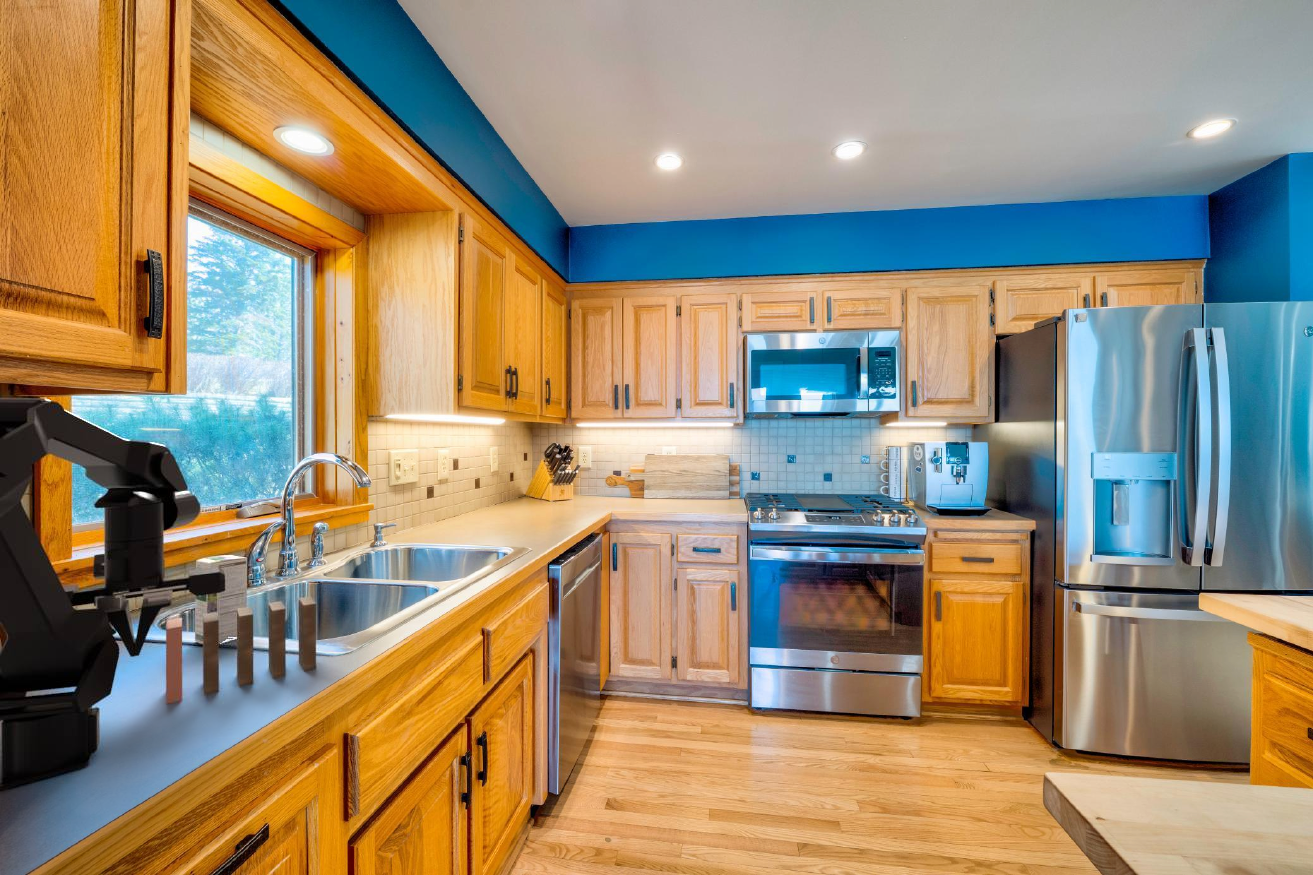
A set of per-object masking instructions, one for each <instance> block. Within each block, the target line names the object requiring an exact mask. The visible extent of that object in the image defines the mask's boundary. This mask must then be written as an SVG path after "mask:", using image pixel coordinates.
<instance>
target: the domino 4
mask: <svg viewBox="0 0 1313 875" xmlns="http://www.w3.org/2000/svg"><path fill="white" fill-rule="evenodd" d="M286 621H287V620H286V607H285V605H284V604H283V602H282V601H281V600H279V601H275V602H274V601H273V602H269V603H268V671H269V672H270V675H271V678H272V679H277V678H282V677H285V676H287V673H286V672H287V671H286V670H287V669H286V668H287V667H286V666H287V665H286V663H287V662H286V660H287V659H286V658H287V657H286V656H287V655H286V654H287V653H286V652H287V651H286V649H287V648H286V642H287V641H286V638H287V637H286V633H287V632H286V631H287V630H286V628H287V627H286V623H287V622H286Z"/></svg>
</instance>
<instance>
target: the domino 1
mask: <svg viewBox="0 0 1313 875" xmlns="http://www.w3.org/2000/svg"><path fill="white" fill-rule="evenodd" d="M165 625H166V628H165V692H166V693H165V705H168V704H172V703H177V702H180V701H183V617H177V618H171V619H166V624H165Z"/></svg>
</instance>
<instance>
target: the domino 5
mask: <svg viewBox="0 0 1313 875" xmlns="http://www.w3.org/2000/svg"><path fill="white" fill-rule="evenodd" d="M298 662H299V665H300V667H301V669H302V670H303V672H306V671H310V670H314V669H317V602H315V600H314V598H312V597H311V596H305V597H299V598H298Z"/></svg>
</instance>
